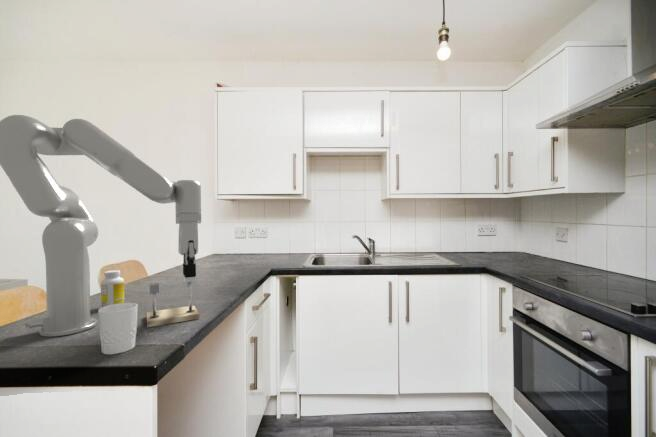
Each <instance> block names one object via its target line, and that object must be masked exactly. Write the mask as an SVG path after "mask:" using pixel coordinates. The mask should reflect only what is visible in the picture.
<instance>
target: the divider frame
mask: <svg viewBox="0 0 656 437" xmlns="http://www.w3.org/2000/svg"><path fill="white" fill-rule="evenodd" d="M194 286H197V281H196V280H195V282H192V287H194ZM148 287H149V294H150V295H151V294H152V311H153V316H156V311H157V294H158V293H160V290H167V289H176V288H187V287H189V282H186V283H185V282H184V281H183V282H174V283H166V284H159V282H157V283H156V282H154V283H149V286H148Z"/></svg>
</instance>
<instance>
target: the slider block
mask: <svg viewBox="0 0 656 437" xmlns="http://www.w3.org/2000/svg"><path fill="white" fill-rule="evenodd" d="M185 265H186V263H185ZM195 281H196V276H195V277H188V278H185V276H184V275H183V282H185V283H186V282H189V286H188V306H189V310H192V306H193V288H192V287H193V286H192V282H195Z"/></svg>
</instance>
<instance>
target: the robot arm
mask: <svg viewBox="0 0 656 437" xmlns="http://www.w3.org/2000/svg"><path fill="white" fill-rule="evenodd" d="M38 154H39V155H42V156H85V157H87V158H89V159H90V160H91V161H93V162H95V163H96V164H97V165H99V166H100V167H101V168H103V169H104V170H106V171H107V172H108V173H110V174H111V175H113V176H115V177H117V178H119V179H120V180H122V181H123V182H124V183H126V184H128V185H129V186H130V187H131V188H133V189H135V190H136V191H137V192H139V193H140V194H142V195H143V196H144V197H145V198H147V199H149V200H151V201H152V202H155V203H158V204H172V203H175V225H176V224H178V225H179V226H178V250H177V251H178V254H180V255H181V256H183V260H182V261H183V263H182V275H183V277H184V276H185V278H188V277H195V278H196V276H197V264H196V255H197V254H198V253H199V227H198V224H202V188H201V187H202V185H201V183H200V182H199V180H198V181H197V180H192V179H190V180H189V179H181V180H177V181H170V179H169V180H168V179H167V178H166V177H165V176H164V175H162V174H160V173H159V172H157V171H156V170H155V169H154V168H153V167H150V166H149V165H148V164H147V163H146V162H144V161H142V160H141V159H139V158H138V157H137V156H136V155H135V154H134V153H133V152H132V151H131V150H129V149H128V148H127V147H125V145H122V144H121V143H119V142H118V141H117V140H115V139H114V138H113V137H111V136H110V135H109V134H108V133H106V132H105V131H103V130H102V129H100V128H99V127H97V126H96V125H95V124H93V123H92V122H90V121H88V120H87V119H86V120H85V119H82V118H71V119H70V120H68V121H66V122H65V123H64V124H63V126H62V127H50V126H48V125H47V124H45V123H44V122H42V121H40V120H39V119H36V118H35V117H34V118H33V117H31V116H28V115H22V114H11V115H8V116H6V117H4V118H2V119H0V167H1V168H2V170H3V172H4V173H5V174H6V176H7V177H8V179H9V181H10V182H11V184H12V186H13V187H14V190H16V192H17V194H18V196H20V198H21V200H22V202H23V203H24V205H25V206H26V208H27V209H28V211H30V212H31V214H33V215H35V216H37V217H43V218H49V220H50V222H49V223H48V224H47V225H46V226H45V228H44V230H43V231H42V236H41V240H42V242H41V243H42V248H43V252H44V258H45V276H46V277H45V283H46V289H45V290H46V315H44V316H42V317H41V318H31V319H26V321H25V327H26V328H29V329H32V328H38V327H41V328H40V329H39V331H38V332H39V335H40V336H41V337H61V336H69V335H73V334H78V333H81V332H84V331H87V330H90V329H92V328H94V327H96V326H97V324H98V320H97V318H94V317H91V291H90V290H91V281H90V280H91V279H90V278H91V275H90V274H91V273H90V270H91V269H90V266H91V265H90V256H89V250H88V247H90V246H91V245H93V244H94V243H95V242H96V241H97V239H98V236H99V229H98V226H97V225H96V222H95V221H94V219H93V217H92V216H91V214H90V213H89V211H88V209H87V208H86V206H85V204H84V203H83V201H82V200H81V199H80V197H79V195H77V193H76V192H75V191H73V190H72V189H70V188H69V187H65V186H64V185H63V186H62V185H60V184H59V183H58V182H57V180H56V179H55V177H54V176H53V174H52V173H51V172H50V170H49V168H48V166H47V165H46V163H45V162H44V160H42V158H41V157H40V156H39V155H38ZM185 263H186V265H185Z"/></svg>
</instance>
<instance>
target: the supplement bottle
mask: <svg viewBox="0 0 656 437" xmlns="http://www.w3.org/2000/svg"><path fill="white" fill-rule="evenodd" d="M103 273H104V274H103V275H104V278H103V279H102V280H101V282H100V291H101V292H100V293H101V294H100V297H101V299H100V300H101V302H100V303H101V308H102V307H105V306H108V305H113V304H119V303H125V279H124V278H123V277H121V270H120V269H118V270H107V271H104V272H103Z"/></svg>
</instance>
